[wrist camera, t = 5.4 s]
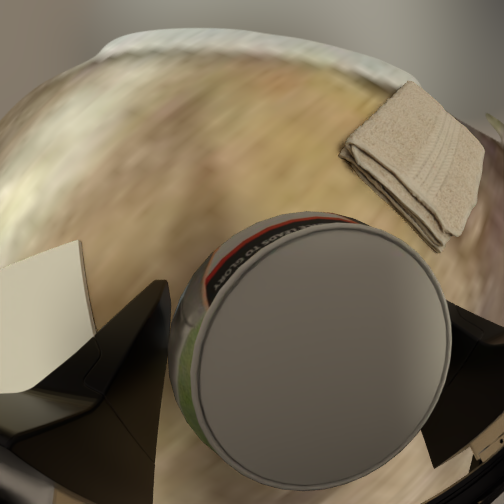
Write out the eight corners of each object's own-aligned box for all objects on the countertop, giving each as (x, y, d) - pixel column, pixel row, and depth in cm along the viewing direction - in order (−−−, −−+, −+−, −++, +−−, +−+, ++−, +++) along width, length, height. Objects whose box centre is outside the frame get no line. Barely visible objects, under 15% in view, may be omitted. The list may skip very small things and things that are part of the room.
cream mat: (-1, 455, 9) (-4, 457, 9) (-40, 288, 13) (-43, 287, 12) (141, 459, 12) (139, 462, 12) (81, 242, 15) (78, 239, 15)
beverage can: (288, 256, 17) (402, 116, 5) (322, 374, 15) (495, 414, 3) (183, 281, 16) (108, 149, 4) (217, 406, 14) (220, 557, 2)
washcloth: (328, 163, 20) (343, 138, 17) (400, 87, 25) (411, 70, 22) (437, 265, 18) (463, 254, 16) (472, 154, 24) (488, 141, 21)
